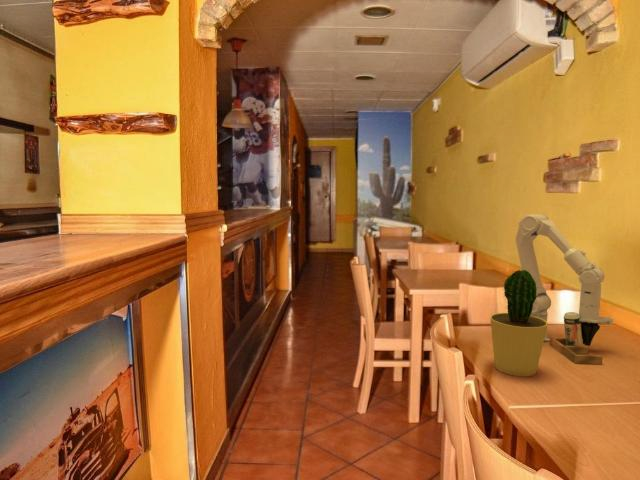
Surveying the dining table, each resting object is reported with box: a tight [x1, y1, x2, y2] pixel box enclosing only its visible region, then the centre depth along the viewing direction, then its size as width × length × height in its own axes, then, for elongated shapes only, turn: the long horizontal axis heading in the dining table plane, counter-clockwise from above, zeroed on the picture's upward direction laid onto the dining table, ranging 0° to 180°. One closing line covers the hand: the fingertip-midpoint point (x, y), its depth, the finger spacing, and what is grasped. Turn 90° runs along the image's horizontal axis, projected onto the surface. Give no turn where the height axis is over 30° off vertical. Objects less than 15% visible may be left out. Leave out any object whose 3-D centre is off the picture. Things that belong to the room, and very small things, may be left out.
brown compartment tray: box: [549, 337, 604, 365], centre depth 149 cm, size 8×17×2 cm, turn 178°
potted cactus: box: [489, 268, 549, 377], centre depth 134 cm, size 15×15×30 cm
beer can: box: [563, 311, 584, 346], centre depth 152 cm, size 5×5×12 cm
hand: (586, 344), depth 152 cm, fingers closed
